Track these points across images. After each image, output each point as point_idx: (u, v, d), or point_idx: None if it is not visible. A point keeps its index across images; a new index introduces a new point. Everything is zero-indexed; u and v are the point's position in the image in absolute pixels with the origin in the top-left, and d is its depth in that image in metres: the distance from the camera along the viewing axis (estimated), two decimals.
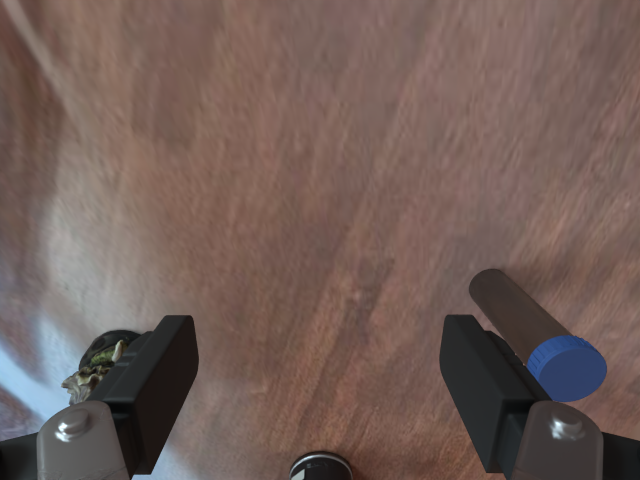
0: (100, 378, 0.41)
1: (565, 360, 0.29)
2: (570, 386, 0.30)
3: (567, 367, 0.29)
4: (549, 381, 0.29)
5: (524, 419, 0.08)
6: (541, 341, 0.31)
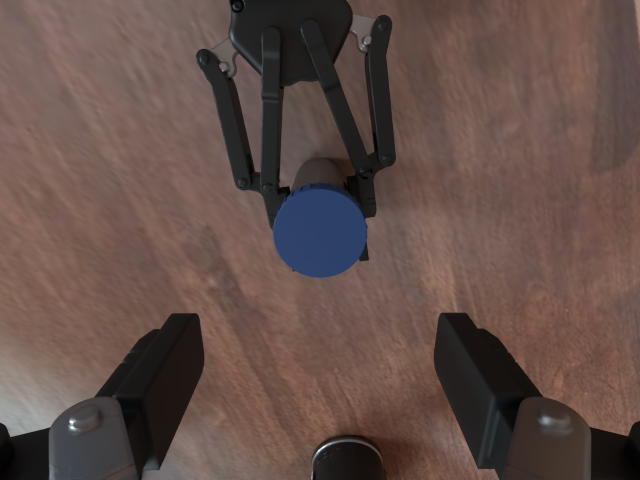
0: None
1: (290, 224, 0.21)
2: (332, 247, 0.21)
3: (302, 230, 0.21)
4: (303, 259, 0.21)
5: (514, 415, 0.08)
6: None
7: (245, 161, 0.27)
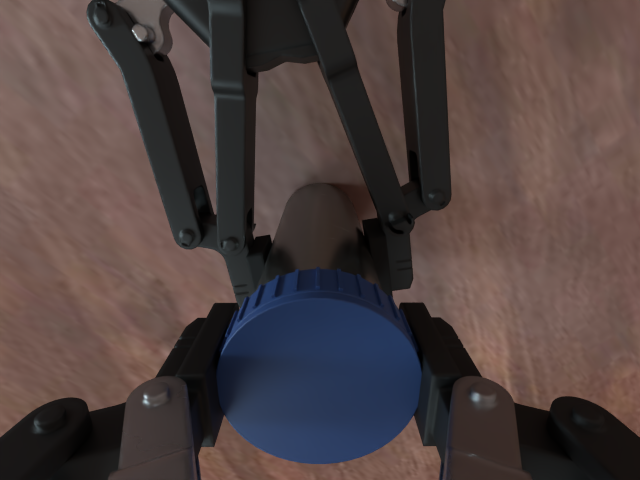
0: None
1: (253, 370, 0.09)
2: (346, 412, 0.10)
3: (280, 380, 0.09)
4: (282, 432, 0.10)
5: None
6: None
7: (190, 201, 0.15)
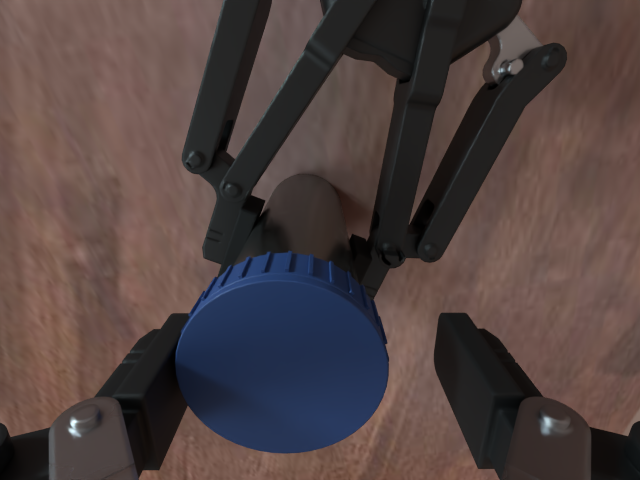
0: None
1: (228, 407, 0.10)
2: (323, 370, 0.09)
3: (252, 396, 0.09)
4: (309, 425, 0.10)
5: (514, 415, 0.08)
6: None
7: (219, 129, 0.15)
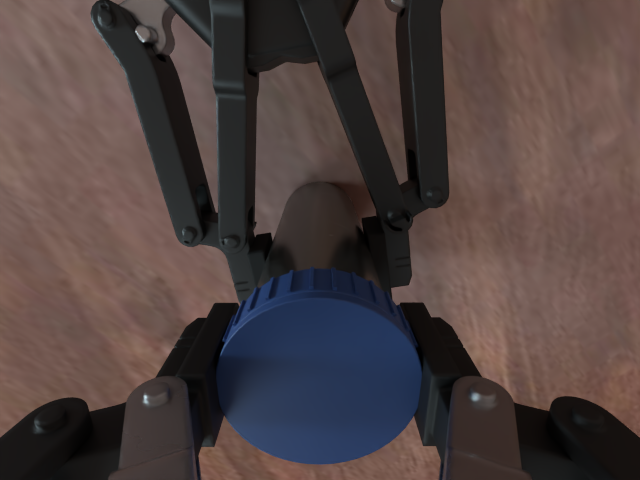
0: None
1: (293, 437, 0.10)
2: (350, 368, 0.09)
3: (306, 418, 0.10)
4: (372, 421, 0.10)
5: (452, 394, 0.08)
6: None
7: (192, 200, 0.16)
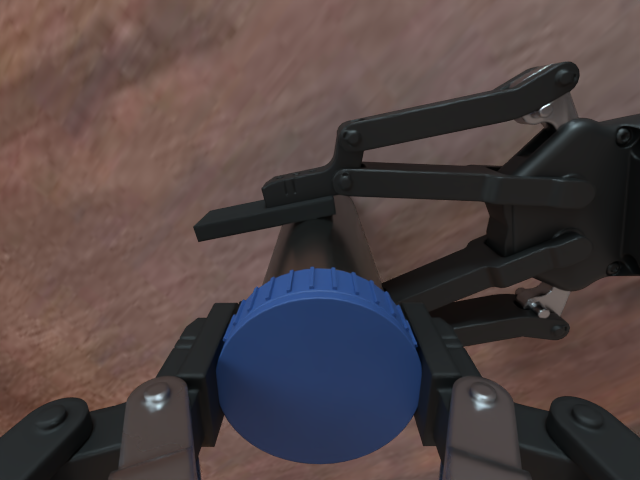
0: None
1: (293, 436, 0.10)
2: (350, 367, 0.09)
3: (306, 418, 0.10)
4: (372, 420, 0.10)
5: (452, 394, 0.08)
6: (330, 266, 0.11)
7: (390, 143, 0.15)
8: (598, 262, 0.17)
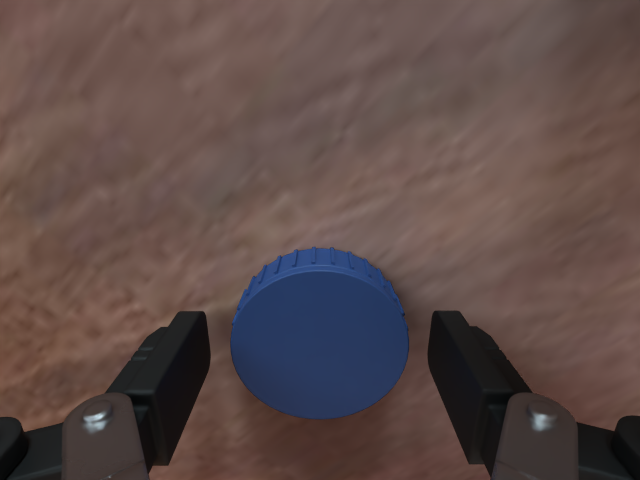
0: None
1: (297, 394, 0.12)
2: (346, 332, 0.11)
3: (308, 377, 0.11)
4: (366, 379, 0.11)
5: (504, 411, 0.08)
6: None
7: None
8: None
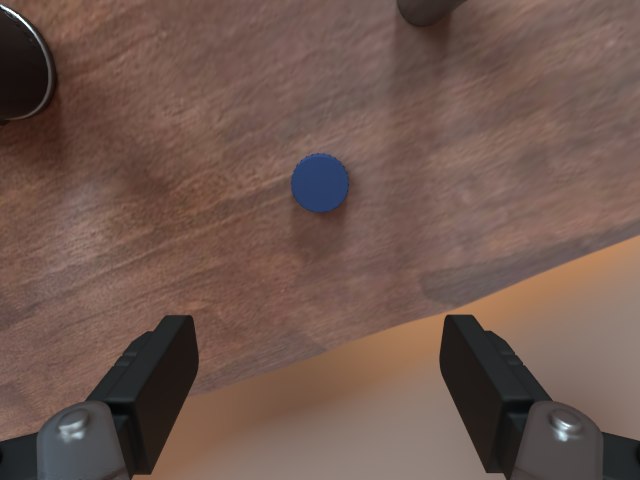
0: None
1: (312, 201, 0.35)
2: (328, 177, 0.34)
3: (316, 195, 0.35)
4: (335, 196, 0.35)
5: (524, 419, 0.08)
6: None
7: None
8: None
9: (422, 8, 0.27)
